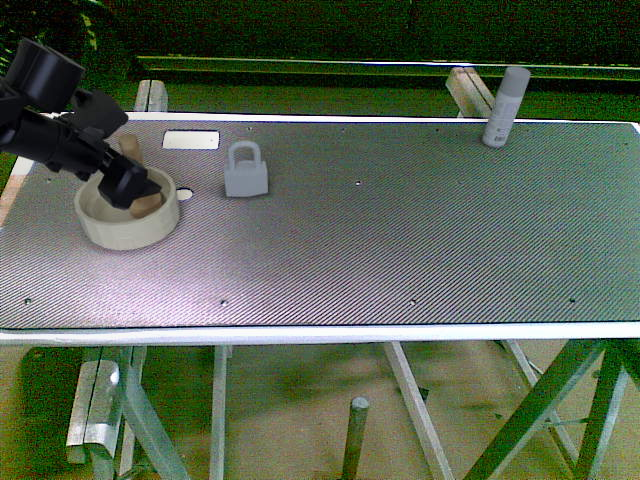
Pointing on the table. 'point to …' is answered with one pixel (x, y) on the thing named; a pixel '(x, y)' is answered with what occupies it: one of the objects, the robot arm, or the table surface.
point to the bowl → (126, 215)
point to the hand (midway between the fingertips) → (143, 175)
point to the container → (506, 106)
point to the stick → (132, 150)
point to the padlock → (245, 172)
